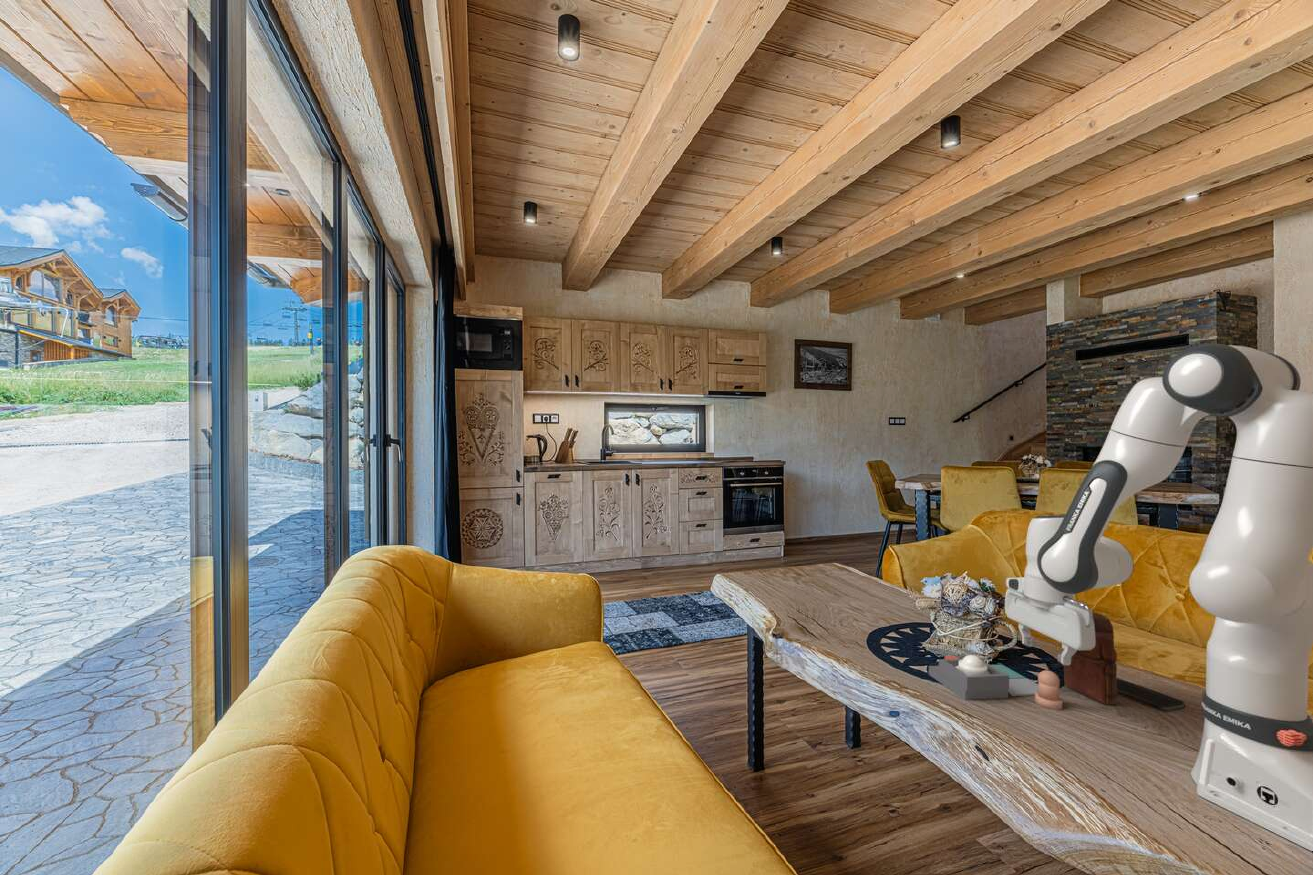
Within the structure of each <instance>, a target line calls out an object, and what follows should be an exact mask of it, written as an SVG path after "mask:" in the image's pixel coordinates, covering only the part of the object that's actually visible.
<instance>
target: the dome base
mask: <svg viewBox="0 0 1313 875" xmlns="http://www.w3.org/2000/svg"><path fill="white" fill-rule="evenodd" d="M962 659H963V658H958V657H957V656H955V655H945V656H944V658H943V659H941V658H940V659H938V665H929V666H928V676H930V677H931V678H933V679H934V680H936V681H937V682H939V683H940V684H941V685H943V686H945V687H946V688H947V689H949V690H950V691H951V692H953V693H954V694H956V695H957V696H959V697H960V698H962V699H963V700H964V701H966V700H967V701H970V700H971V701H973V700H990V699H991V700H992V699H993V700H997V699H1008V698H1009V694H1008V690H1009V675H1007V674H1005V673H1004V672H1002V671H1000V670H998V669H996V668H995V667H993V666H991V665H992V664H989V663H987V662H986V661H985V660H982V662H983V663H984V664H986V665H987V671H988V672H990V674H986V675H967V674H966V673H964V672H963V671H961V670H959V669H958V668H956V666H959V660H962Z"/></svg>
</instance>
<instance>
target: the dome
mask: <svg viewBox="0 0 1313 875" xmlns="http://www.w3.org/2000/svg"><path fill="white" fill-rule="evenodd" d="M961 659H962V660H959V666H956V668H958V669H959V670H961V671H963V672H964V673H966V674H967V675H986V674H990V672H988V671H987V665H986V664H984V663H983V662H982V661H983V659H981V658H980V657H979V656H977V655H974V654H968V655H966V656H964V657H963V658H961Z"/></svg>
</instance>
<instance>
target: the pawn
mask: <svg viewBox="0 0 1313 875" xmlns="http://www.w3.org/2000/svg"><path fill="white" fill-rule="evenodd" d="M1037 680H1038V681H1037V682H1038V683H1037V684H1038V692H1037V693H1035V695H1034V703H1035V705H1037V706H1039V707H1041V708H1044V709H1047V710H1053V711H1060V710H1063V702H1064V701H1063V698H1062V697H1060V683H1061V680H1060V678H1059V676H1058V675H1057V674H1056V673H1055V672H1053V671H1051V670H1047V669H1045V670H1042V671H1040V672H1039V673H1038V675H1037Z"/></svg>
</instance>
